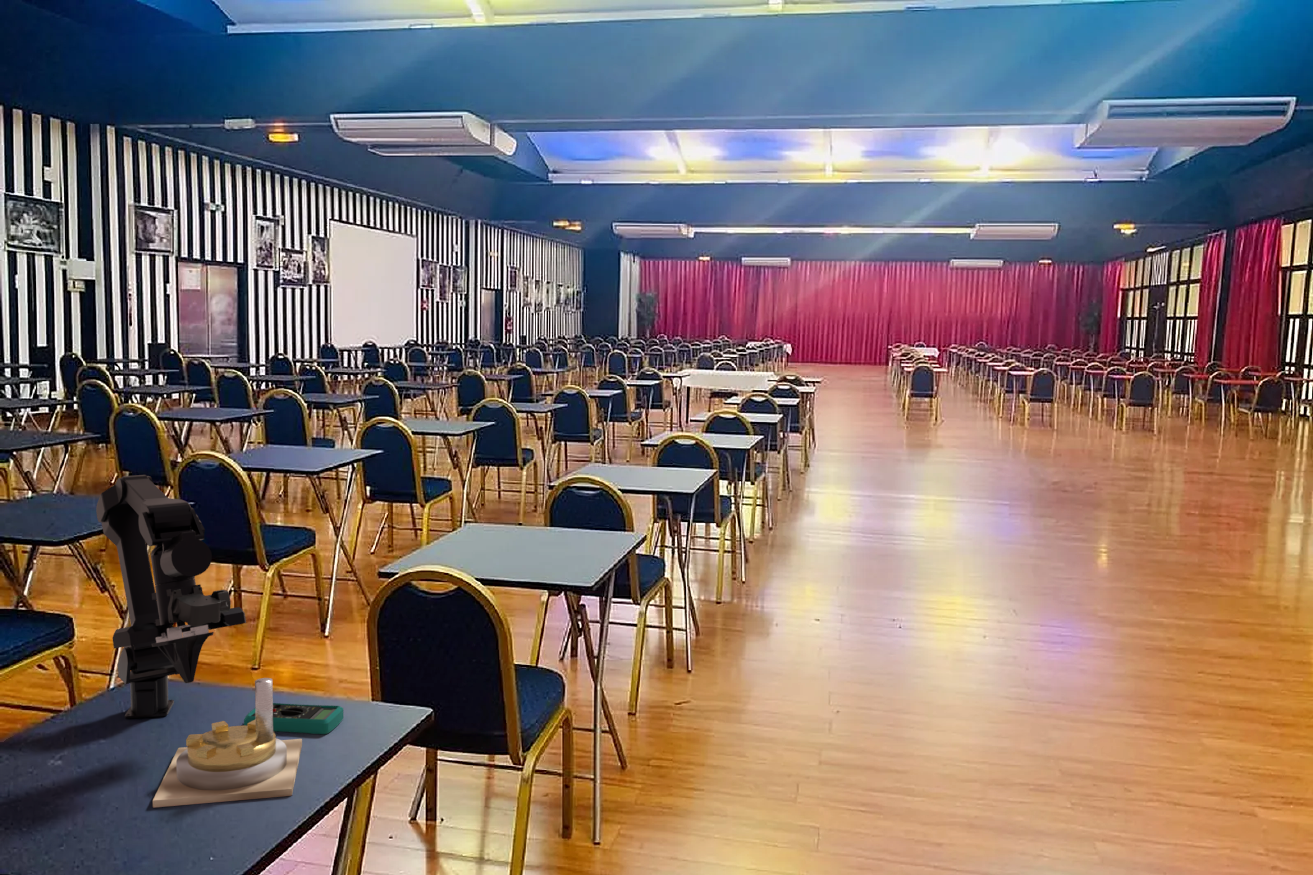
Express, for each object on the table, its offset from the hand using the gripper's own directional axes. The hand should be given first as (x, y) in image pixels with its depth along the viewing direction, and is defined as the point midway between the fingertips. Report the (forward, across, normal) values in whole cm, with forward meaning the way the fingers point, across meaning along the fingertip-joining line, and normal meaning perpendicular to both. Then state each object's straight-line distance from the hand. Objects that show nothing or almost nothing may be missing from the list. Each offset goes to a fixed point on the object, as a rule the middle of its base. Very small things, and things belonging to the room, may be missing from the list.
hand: (189, 682), depth 158 cm
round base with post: (+11, -1, -10) cm, 15 cm away
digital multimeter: (+11, +17, 0) cm, 20 cm away
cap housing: (+14, 0, -9) cm, 17 cm away
